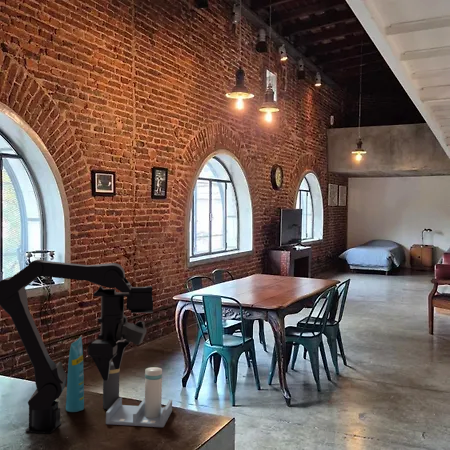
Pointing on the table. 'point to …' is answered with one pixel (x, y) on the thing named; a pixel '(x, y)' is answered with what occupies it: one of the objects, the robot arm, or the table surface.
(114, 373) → the grey bottle
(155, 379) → the white bottle
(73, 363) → the tube
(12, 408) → the table surface
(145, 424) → the slot rack
